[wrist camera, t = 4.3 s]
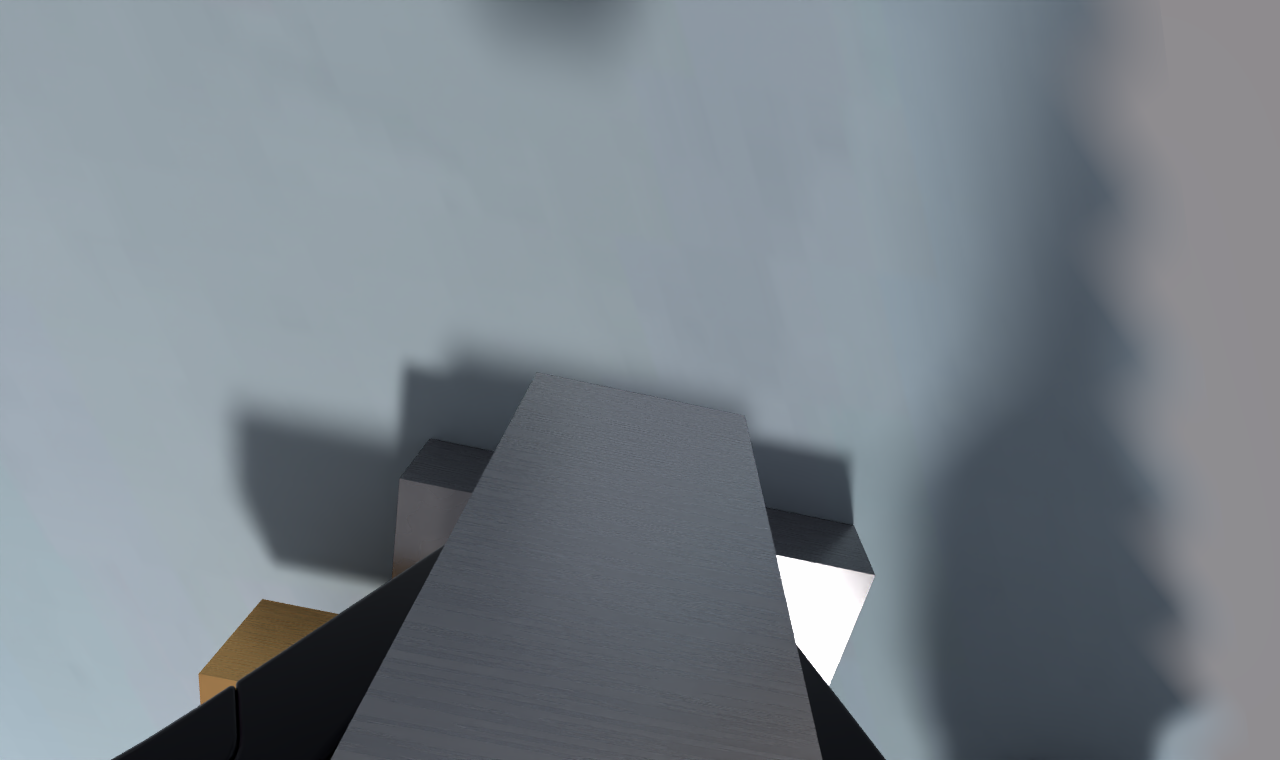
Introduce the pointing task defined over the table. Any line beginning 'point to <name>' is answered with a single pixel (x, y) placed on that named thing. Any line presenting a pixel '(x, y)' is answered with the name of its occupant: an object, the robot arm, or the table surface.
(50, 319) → the table surface
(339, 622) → the robot arm
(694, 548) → the grey rectangular block
